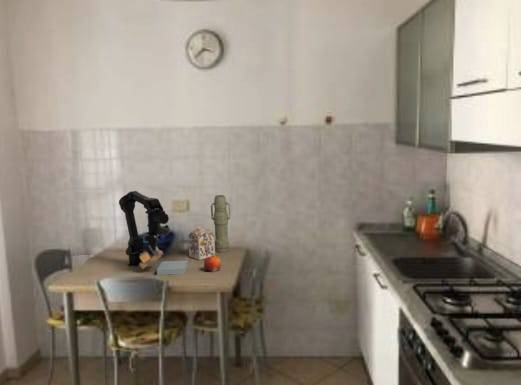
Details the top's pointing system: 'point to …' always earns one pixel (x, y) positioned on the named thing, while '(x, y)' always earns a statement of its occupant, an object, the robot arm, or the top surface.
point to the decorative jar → (201, 243)
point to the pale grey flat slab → (172, 267)
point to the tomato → (212, 263)
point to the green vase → (220, 223)
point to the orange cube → (145, 257)
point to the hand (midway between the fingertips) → (155, 250)
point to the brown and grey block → (156, 256)
